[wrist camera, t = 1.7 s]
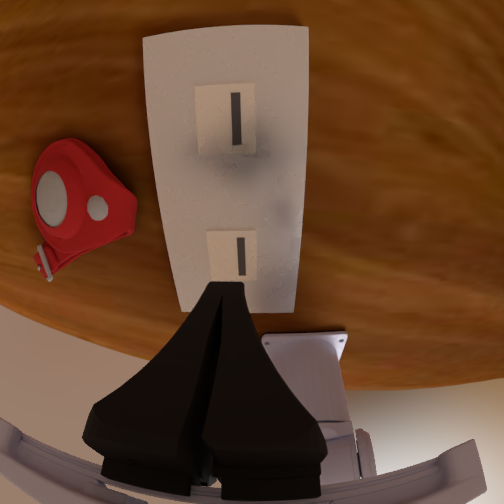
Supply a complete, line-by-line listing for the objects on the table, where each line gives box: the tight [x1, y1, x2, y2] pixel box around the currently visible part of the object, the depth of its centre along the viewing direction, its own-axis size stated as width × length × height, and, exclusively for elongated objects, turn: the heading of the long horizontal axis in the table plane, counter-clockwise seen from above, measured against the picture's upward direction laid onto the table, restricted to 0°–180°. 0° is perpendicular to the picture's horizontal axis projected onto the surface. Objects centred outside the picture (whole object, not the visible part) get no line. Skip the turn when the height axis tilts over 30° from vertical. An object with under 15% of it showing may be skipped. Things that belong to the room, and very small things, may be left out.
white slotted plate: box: [143, 25, 309, 313], centre depth 17 cm, size 20×9×1 cm, turn 1°
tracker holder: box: [31, 138, 138, 282], centre depth 18 cm, size 12×4×10 cm
